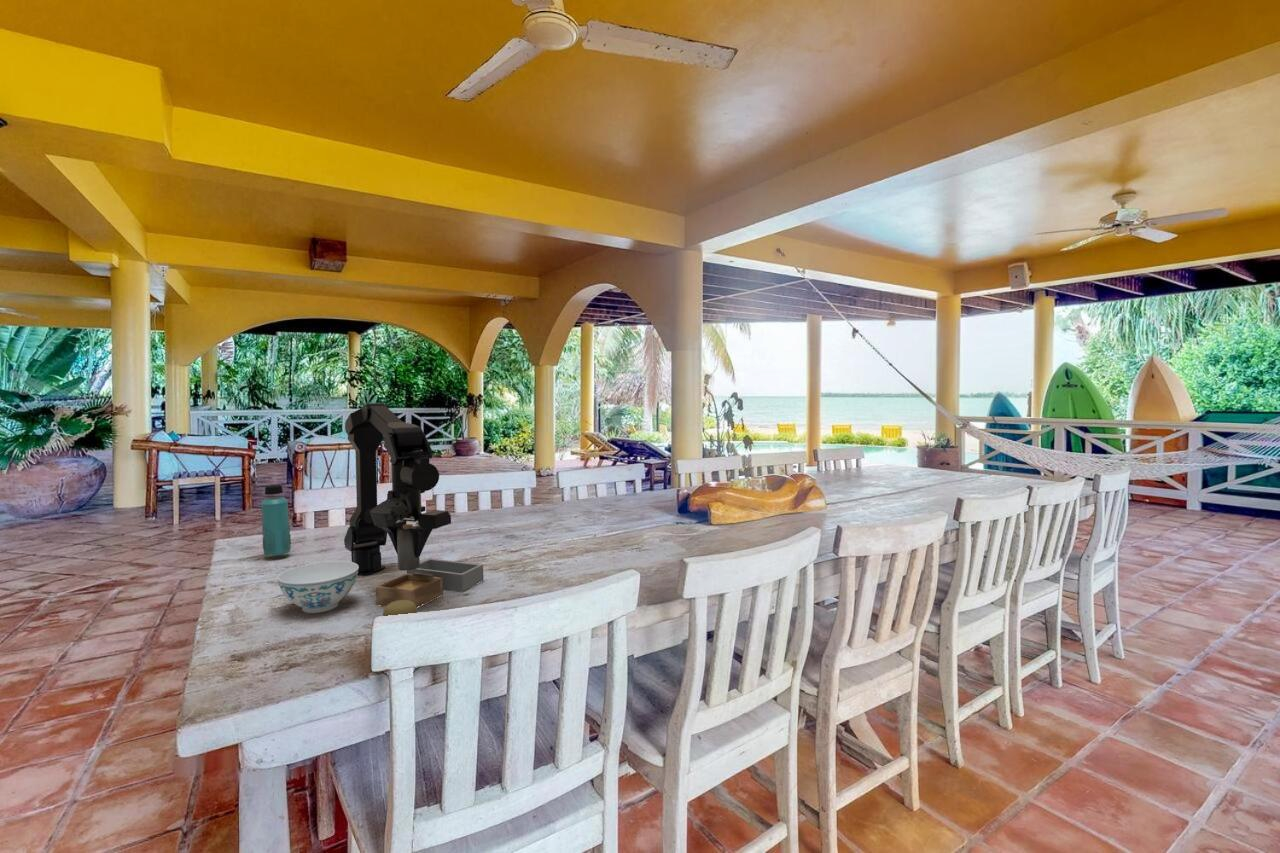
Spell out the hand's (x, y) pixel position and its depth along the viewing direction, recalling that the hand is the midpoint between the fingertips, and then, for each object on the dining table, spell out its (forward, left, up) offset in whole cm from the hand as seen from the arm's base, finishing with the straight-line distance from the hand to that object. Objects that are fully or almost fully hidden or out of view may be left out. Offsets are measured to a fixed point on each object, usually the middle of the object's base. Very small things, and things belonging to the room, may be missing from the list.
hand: (408, 555), depth 126 cm
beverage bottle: (-57, +14, -10) cm, 59 cm away
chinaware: (-15, -9, -10) cm, 21 cm away
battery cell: (0, 0, -3) cm, 2 cm away
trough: (0, +12, -10) cm, 15 cm away
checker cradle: (0, 0, -10) cm, 10 cm away
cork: (+20, -25, -10) cm, 34 cm away
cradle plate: (0, 0, -8) cm, 8 cm away
